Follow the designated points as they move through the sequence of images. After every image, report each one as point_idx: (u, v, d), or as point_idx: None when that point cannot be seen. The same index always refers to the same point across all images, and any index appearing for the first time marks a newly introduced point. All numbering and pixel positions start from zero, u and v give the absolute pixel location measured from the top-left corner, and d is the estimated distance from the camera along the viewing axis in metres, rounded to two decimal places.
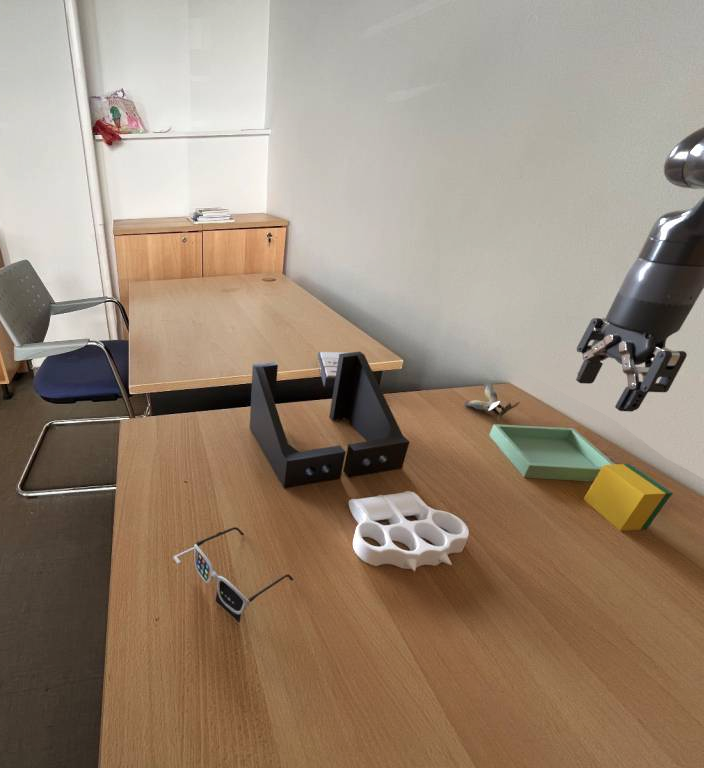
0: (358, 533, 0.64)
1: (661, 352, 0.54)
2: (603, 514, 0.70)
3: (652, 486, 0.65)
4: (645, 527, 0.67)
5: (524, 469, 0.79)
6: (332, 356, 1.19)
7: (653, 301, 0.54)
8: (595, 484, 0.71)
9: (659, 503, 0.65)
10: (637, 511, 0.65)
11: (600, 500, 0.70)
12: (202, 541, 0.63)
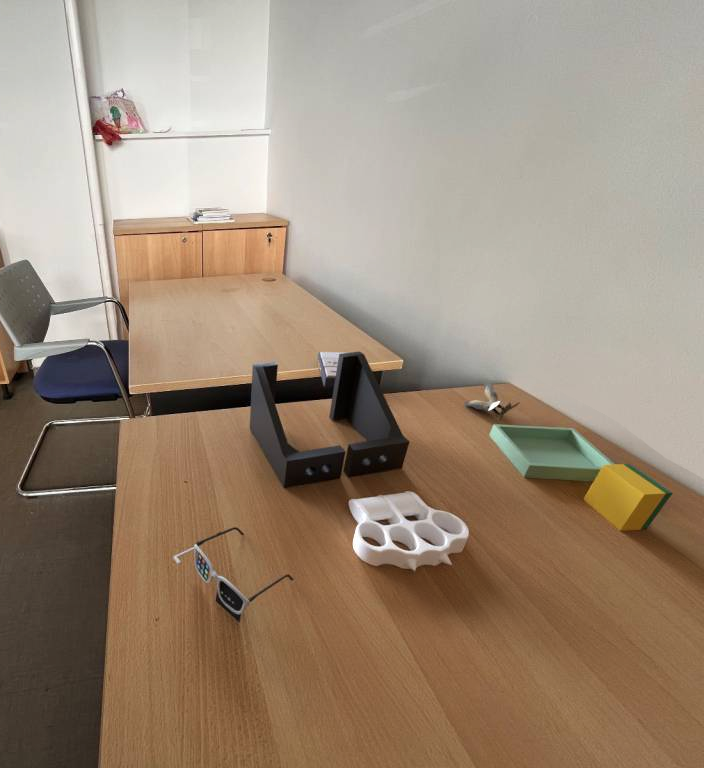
0: (358, 533, 0.64)
1: None
2: (603, 514, 0.70)
3: (652, 486, 0.65)
4: (645, 527, 0.67)
5: (524, 469, 0.79)
6: (332, 356, 1.19)
7: None
8: (595, 484, 0.71)
9: (659, 503, 0.65)
10: (637, 511, 0.65)
11: (600, 500, 0.70)
12: (202, 541, 0.63)
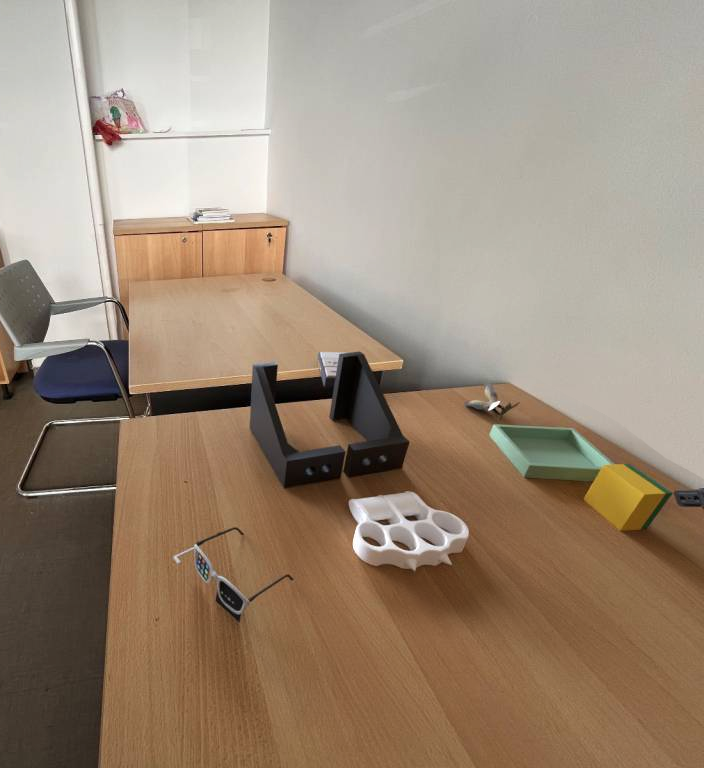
0: (358, 533, 0.64)
1: None
2: (603, 514, 0.70)
3: (652, 486, 0.65)
4: (645, 527, 0.67)
5: (524, 469, 0.79)
6: (332, 356, 1.19)
7: None
8: (595, 484, 0.71)
9: (659, 503, 0.65)
10: (637, 511, 0.65)
11: (600, 500, 0.70)
12: (202, 541, 0.63)
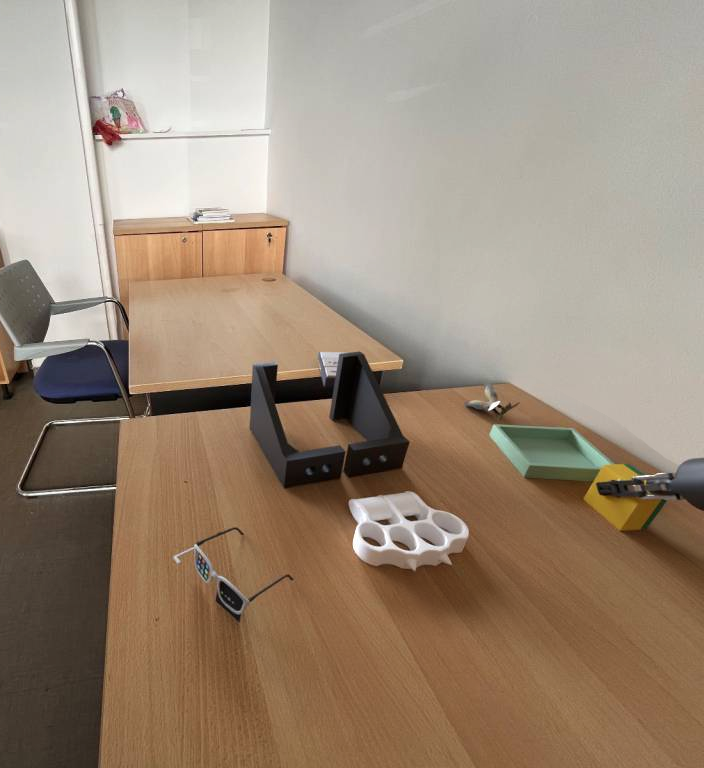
0: (358, 533, 0.64)
1: None
2: (603, 514, 0.70)
3: None
4: (645, 527, 0.67)
5: (524, 469, 0.79)
6: (332, 356, 1.19)
7: None
8: (595, 484, 0.71)
9: (659, 503, 0.65)
10: (637, 511, 0.65)
11: (600, 500, 0.70)
12: (202, 541, 0.63)
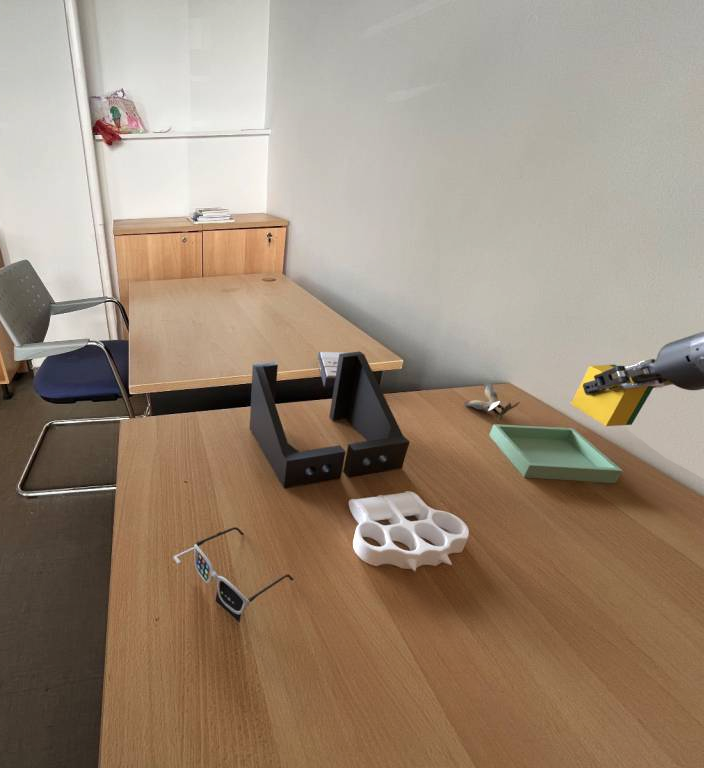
0: (358, 533, 0.64)
1: None
2: (590, 414, 0.72)
3: None
4: (630, 422, 0.69)
5: (524, 469, 0.79)
6: (332, 356, 1.19)
7: None
8: (582, 386, 0.73)
9: (643, 395, 0.67)
10: (622, 404, 0.67)
11: (587, 400, 0.72)
12: (202, 541, 0.63)
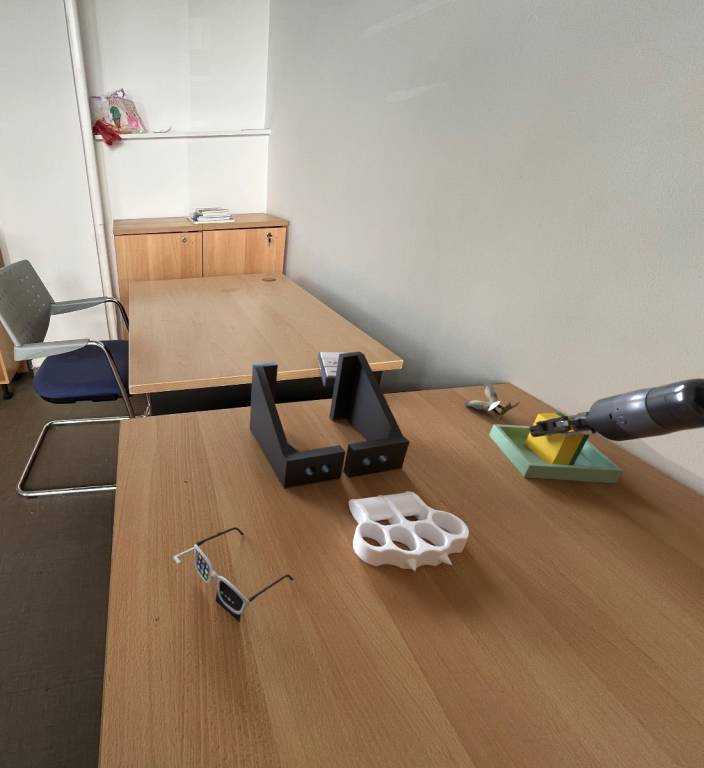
0: (358, 533, 0.64)
1: None
2: (538, 455, 0.83)
3: None
4: (571, 464, 0.80)
5: (524, 469, 0.79)
6: (332, 356, 1.19)
7: None
8: None
9: (581, 442, 0.78)
10: (563, 449, 0.78)
11: (536, 443, 0.83)
12: (202, 541, 0.63)
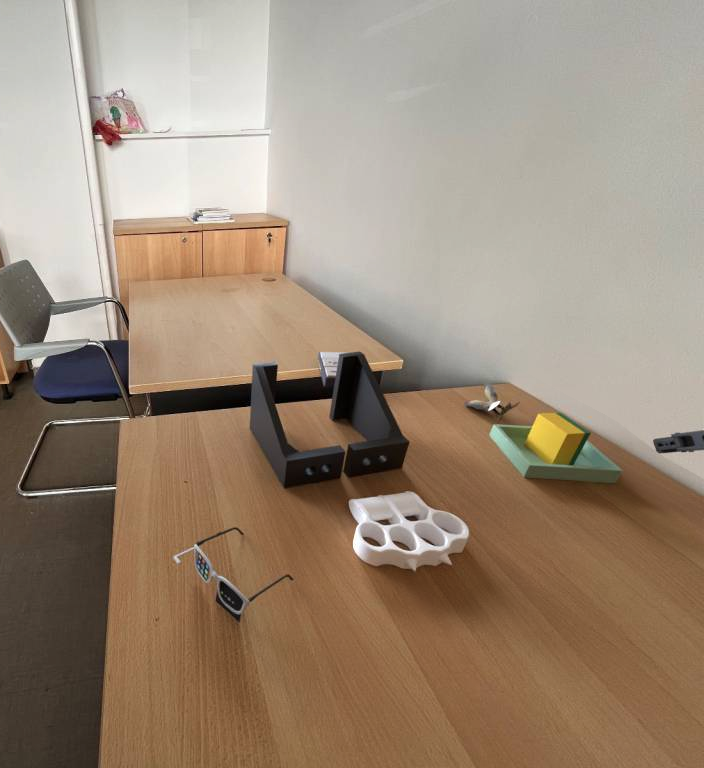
0: (358, 533, 0.64)
1: None
2: (538, 455, 0.83)
3: (575, 428, 0.78)
4: (571, 464, 0.80)
5: (524, 469, 0.79)
6: (332, 356, 1.19)
7: None
8: (532, 430, 0.84)
9: (581, 442, 0.78)
10: (563, 449, 0.78)
11: (536, 443, 0.83)
12: (202, 541, 0.63)
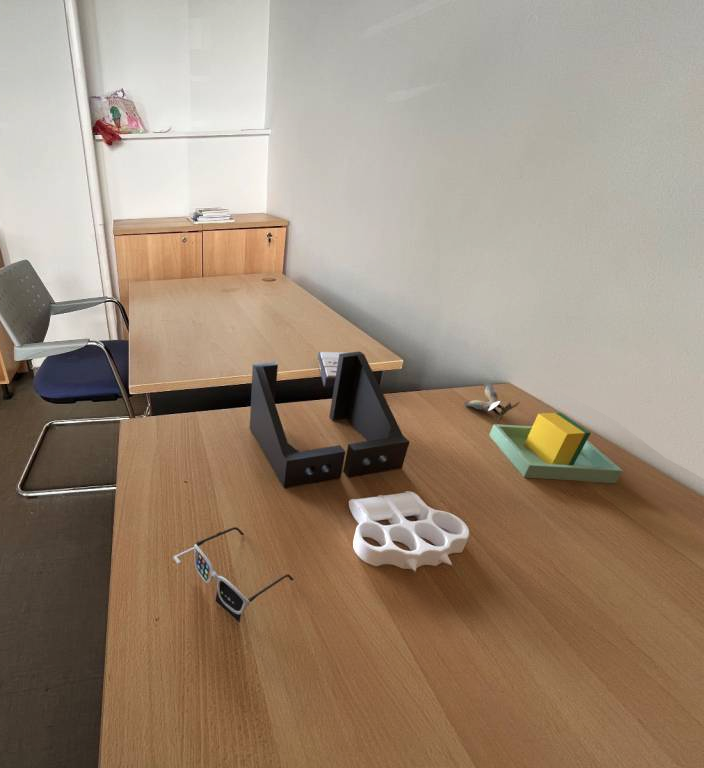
0: (358, 533, 0.64)
1: None
2: (538, 455, 0.83)
3: (575, 428, 0.78)
4: (571, 464, 0.80)
5: (524, 469, 0.79)
6: (332, 356, 1.19)
7: None
8: (532, 430, 0.84)
9: (581, 442, 0.78)
10: (563, 449, 0.78)
11: (536, 443, 0.83)
12: (202, 541, 0.63)
